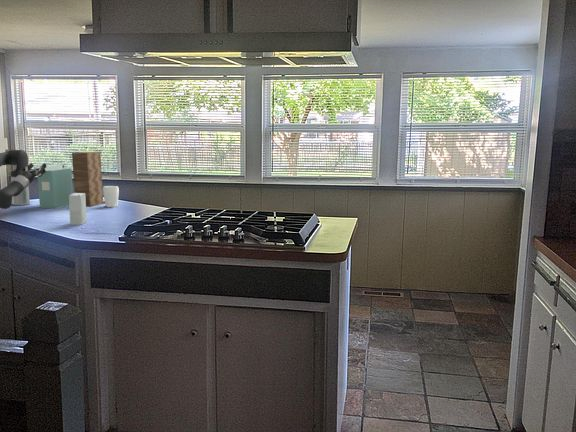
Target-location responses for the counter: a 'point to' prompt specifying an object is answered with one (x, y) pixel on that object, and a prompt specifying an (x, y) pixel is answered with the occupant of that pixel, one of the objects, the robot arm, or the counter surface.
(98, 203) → the stand
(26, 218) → the counter surface
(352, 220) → the counter surface
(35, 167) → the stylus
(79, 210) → the skincare box
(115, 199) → the cup
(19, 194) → the robot arm
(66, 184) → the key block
